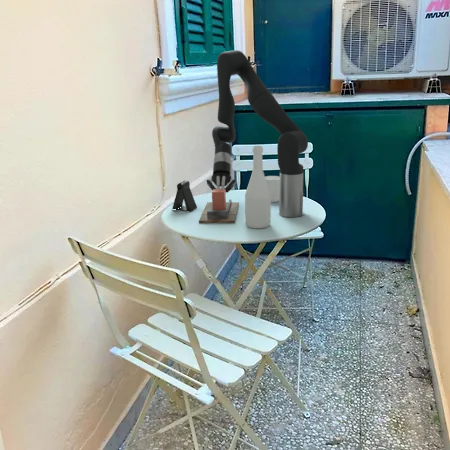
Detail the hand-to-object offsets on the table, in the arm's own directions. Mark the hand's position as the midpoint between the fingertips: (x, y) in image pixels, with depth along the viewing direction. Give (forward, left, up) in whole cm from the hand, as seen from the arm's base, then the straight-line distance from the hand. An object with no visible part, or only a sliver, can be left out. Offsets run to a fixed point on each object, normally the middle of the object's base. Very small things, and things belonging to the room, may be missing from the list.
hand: (220, 200), depth 183 cm
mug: (-20, -20, -6) cm, 29 cm away
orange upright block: (0, +3, -4) cm, 5 cm away
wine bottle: (-16, +16, -6) cm, 23 cm away
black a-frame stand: (+16, -5, -6) cm, 18 cm away
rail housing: (0, +1, -5) cm, 5 cm away
